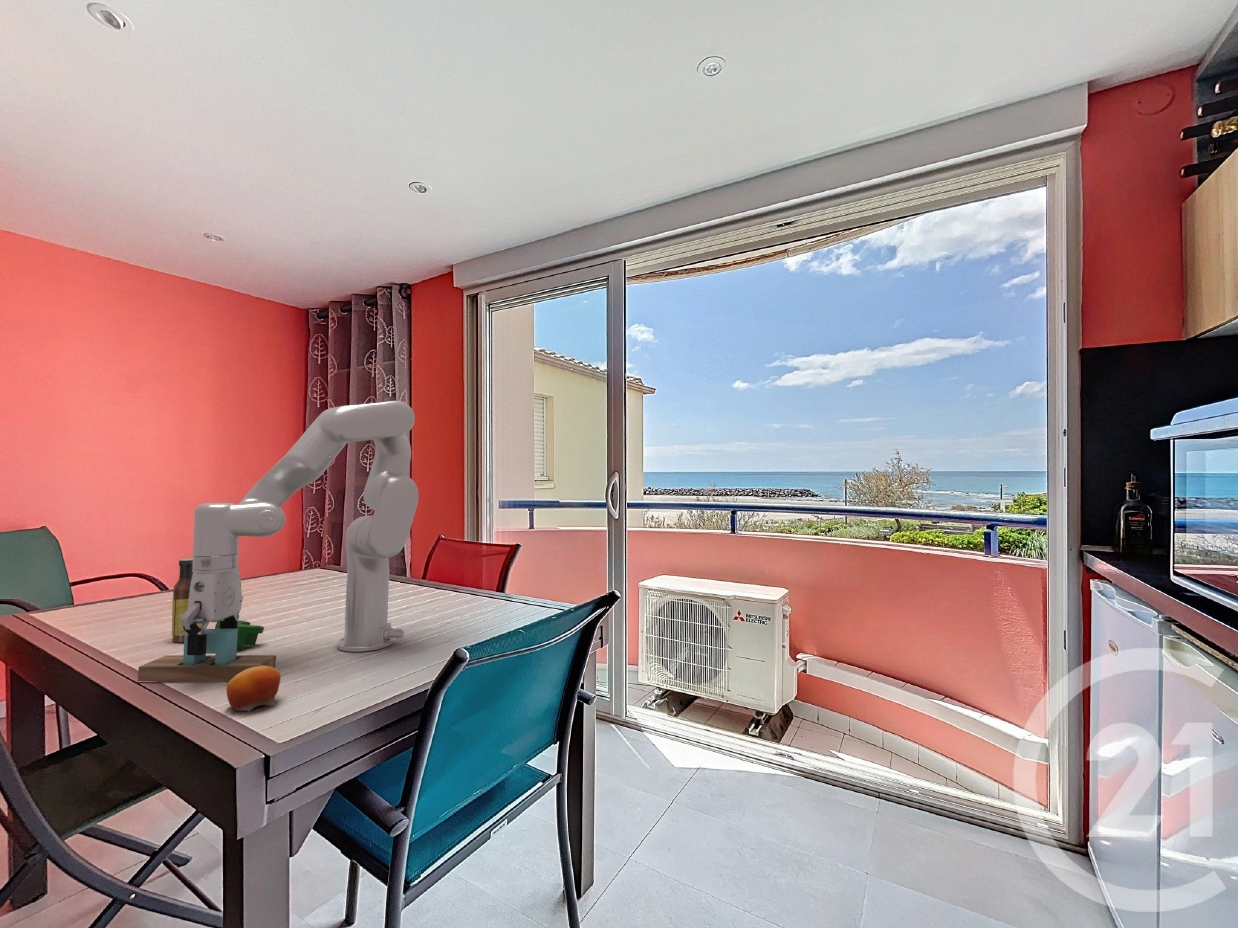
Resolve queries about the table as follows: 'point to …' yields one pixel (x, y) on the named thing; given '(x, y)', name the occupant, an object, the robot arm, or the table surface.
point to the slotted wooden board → (200, 668)
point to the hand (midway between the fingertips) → (213, 646)
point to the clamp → (245, 633)
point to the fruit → (253, 687)
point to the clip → (215, 647)
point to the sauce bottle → (181, 599)
